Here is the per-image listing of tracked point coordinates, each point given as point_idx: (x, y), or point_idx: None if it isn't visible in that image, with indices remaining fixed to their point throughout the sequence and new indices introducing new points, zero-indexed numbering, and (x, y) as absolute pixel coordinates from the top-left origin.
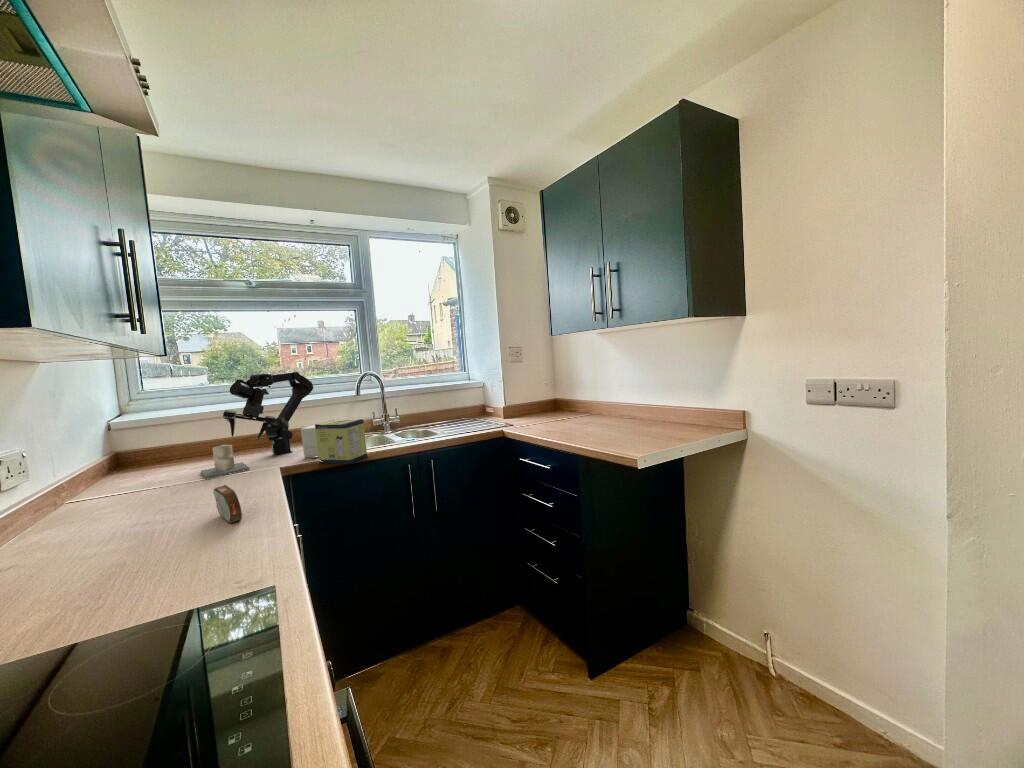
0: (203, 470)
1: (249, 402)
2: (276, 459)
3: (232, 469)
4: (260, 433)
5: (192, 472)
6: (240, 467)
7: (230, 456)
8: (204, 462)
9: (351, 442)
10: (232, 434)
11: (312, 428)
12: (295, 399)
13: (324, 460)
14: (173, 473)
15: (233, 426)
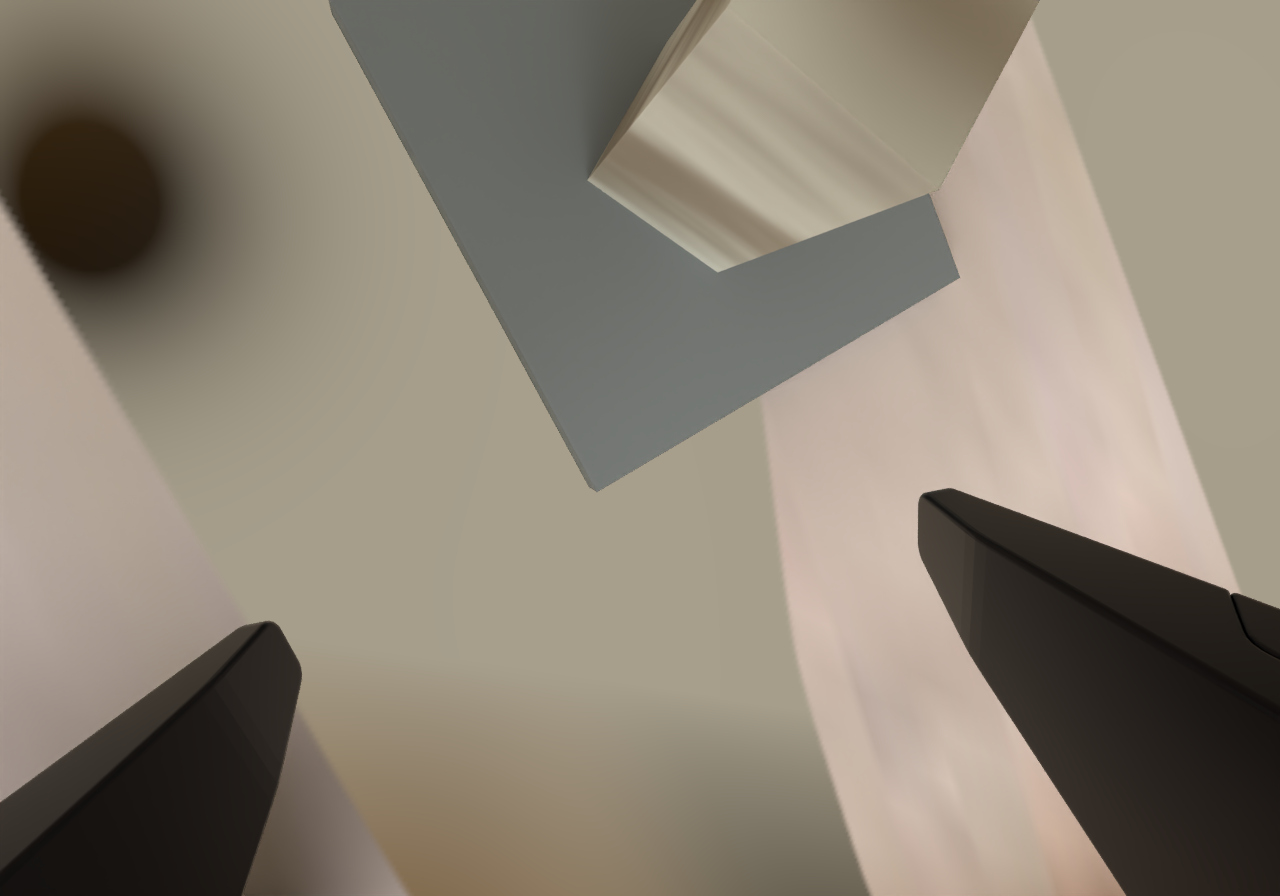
0: (931, 253)
1: None
2: (105, 581)
3: (568, 32)
4: (87, 757)
5: (1031, 380)
6: (487, 95)
7: (667, 69)
8: (1067, 835)
9: None
10: (967, 511)
11: None
12: None
13: None
14: (1177, 449)
15: (1220, 660)
